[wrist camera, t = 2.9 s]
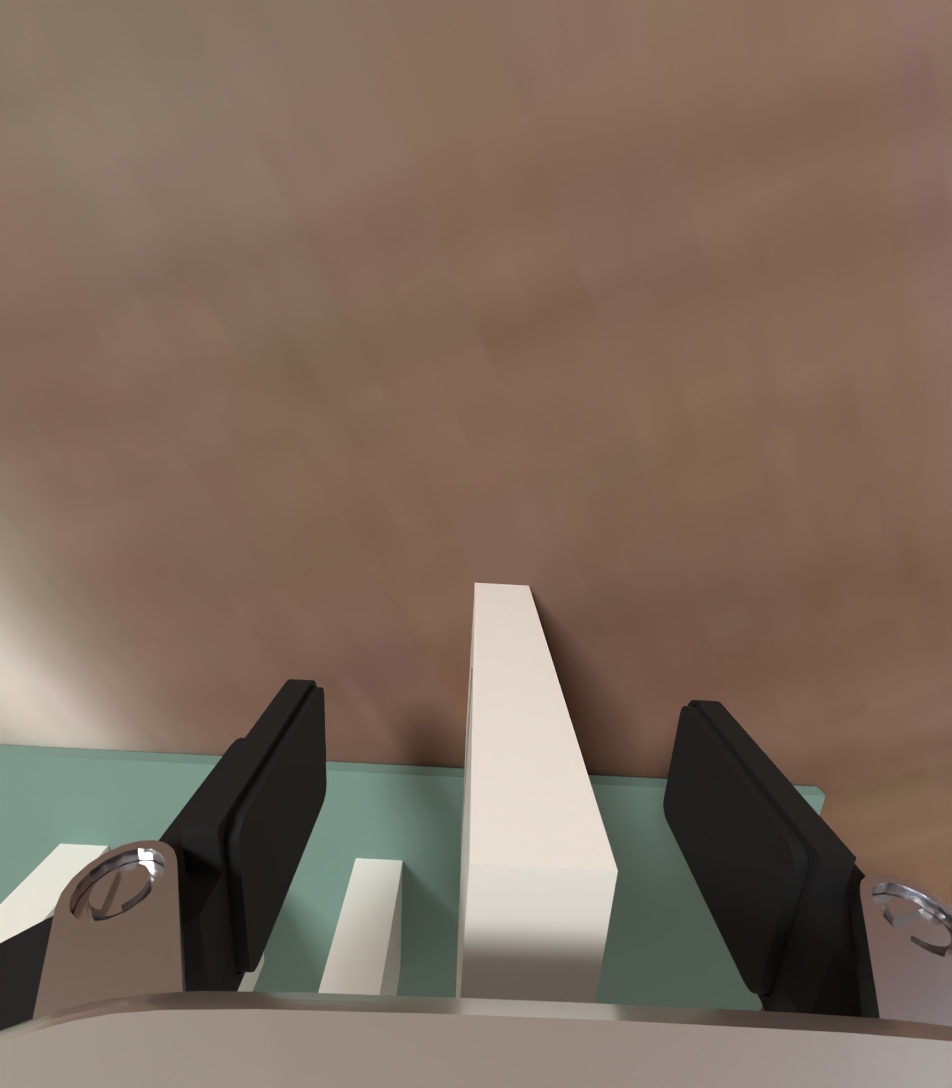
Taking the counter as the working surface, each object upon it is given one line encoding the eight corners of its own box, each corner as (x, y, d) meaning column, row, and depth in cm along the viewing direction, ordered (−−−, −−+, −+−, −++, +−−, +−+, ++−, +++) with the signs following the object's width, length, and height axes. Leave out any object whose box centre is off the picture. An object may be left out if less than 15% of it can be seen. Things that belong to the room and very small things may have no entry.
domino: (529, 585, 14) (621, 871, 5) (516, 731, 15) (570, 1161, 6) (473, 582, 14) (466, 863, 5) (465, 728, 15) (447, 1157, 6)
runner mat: (816, 786, 15) (825, 795, 15) (743, 1036, 18) (749, 1049, 18) (-93, 740, 15) (-108, 748, 15) (-15, 1001, 18) (-25, 1014, 18)
